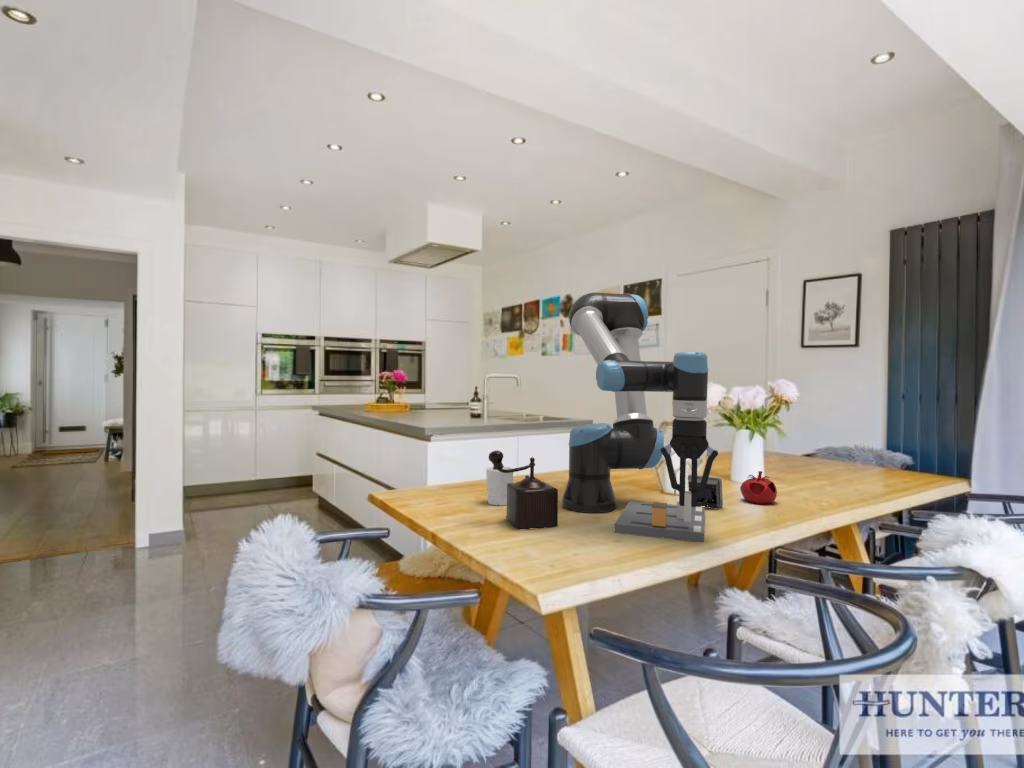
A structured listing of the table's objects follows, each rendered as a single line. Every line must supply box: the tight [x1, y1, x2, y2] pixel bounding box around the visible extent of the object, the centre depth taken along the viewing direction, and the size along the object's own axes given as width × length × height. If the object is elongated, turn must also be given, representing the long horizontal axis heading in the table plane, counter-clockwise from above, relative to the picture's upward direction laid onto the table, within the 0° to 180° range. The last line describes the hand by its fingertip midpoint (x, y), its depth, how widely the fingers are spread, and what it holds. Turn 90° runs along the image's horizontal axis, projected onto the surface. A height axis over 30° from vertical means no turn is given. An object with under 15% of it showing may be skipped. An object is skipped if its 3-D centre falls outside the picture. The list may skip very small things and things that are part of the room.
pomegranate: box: [739, 471, 778, 505], centre depth 161 cm, size 10×10×9 cm
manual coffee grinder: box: [488, 449, 559, 530], centre depth 134 cm, size 16×11×18 cm
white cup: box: [485, 466, 514, 507], centre depth 156 cm, size 8×8×10 cm
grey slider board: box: [614, 497, 706, 543], centre depth 136 cm, size 20×26×6 cm
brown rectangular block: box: [652, 501, 668, 527], centre depth 127 cm, size 3×4×5 cm
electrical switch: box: [687, 473, 724, 510], centre depth 154 cm, size 9×5×9 cm, turn 57°
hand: (687, 520), depth 125 cm, fingers closed
